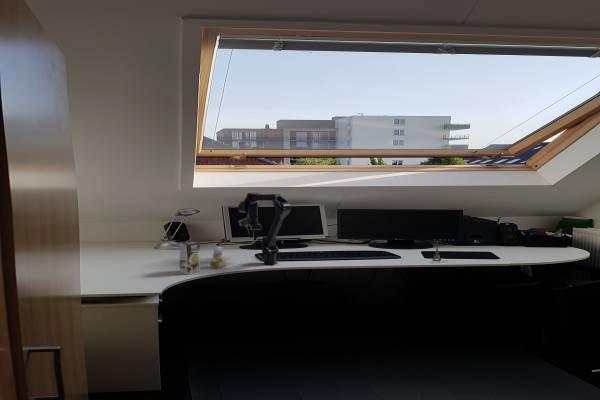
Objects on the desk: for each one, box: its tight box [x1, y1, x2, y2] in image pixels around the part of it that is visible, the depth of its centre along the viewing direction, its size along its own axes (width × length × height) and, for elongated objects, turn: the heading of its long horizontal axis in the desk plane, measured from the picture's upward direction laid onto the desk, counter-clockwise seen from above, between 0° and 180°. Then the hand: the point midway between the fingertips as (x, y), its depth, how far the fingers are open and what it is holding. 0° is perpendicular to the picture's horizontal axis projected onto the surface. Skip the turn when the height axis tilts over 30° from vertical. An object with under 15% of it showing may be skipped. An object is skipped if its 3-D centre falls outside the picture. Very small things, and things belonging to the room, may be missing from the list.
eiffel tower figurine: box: [429, 240, 449, 264], centre depth 268 cm, size 15×10×13 cm
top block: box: [212, 252, 225, 262], centre depth 247 cm, size 5×5×4 cm
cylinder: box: [213, 245, 223, 254], centre depth 247 cm, size 4×4×4 cm
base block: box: [210, 259, 227, 270], centre depth 247 cm, size 6×6×4 cm
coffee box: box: [179, 240, 201, 275], centre depth 235 cm, size 9×6×16 cm
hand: (252, 239), depth 265 cm, fingers open, 9 cm apart
